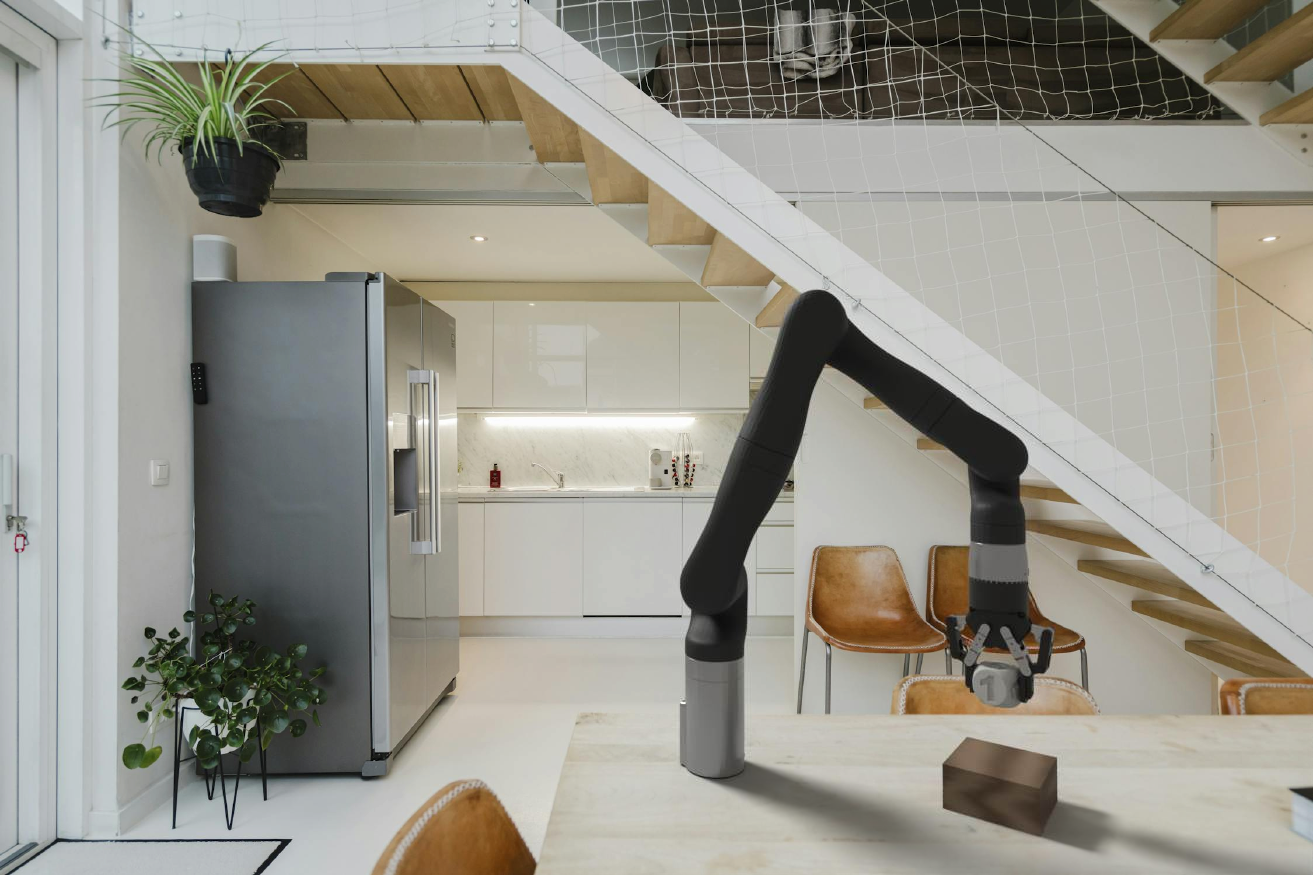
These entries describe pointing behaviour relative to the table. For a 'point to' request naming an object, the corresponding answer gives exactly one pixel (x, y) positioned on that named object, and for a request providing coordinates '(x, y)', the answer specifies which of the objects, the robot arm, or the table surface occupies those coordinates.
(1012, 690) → the die
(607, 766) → the table surface
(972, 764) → the pedestal
